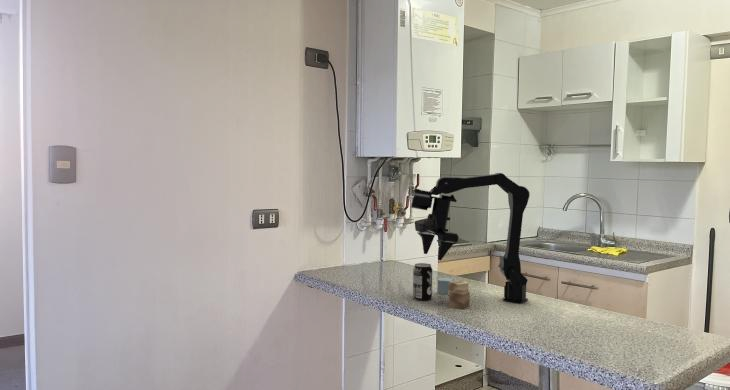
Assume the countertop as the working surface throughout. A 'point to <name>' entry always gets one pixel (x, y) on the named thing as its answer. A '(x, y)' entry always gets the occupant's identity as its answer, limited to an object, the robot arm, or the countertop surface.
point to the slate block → (443, 285)
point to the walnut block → (459, 299)
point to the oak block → (457, 286)
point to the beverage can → (422, 281)
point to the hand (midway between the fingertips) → (432, 256)
